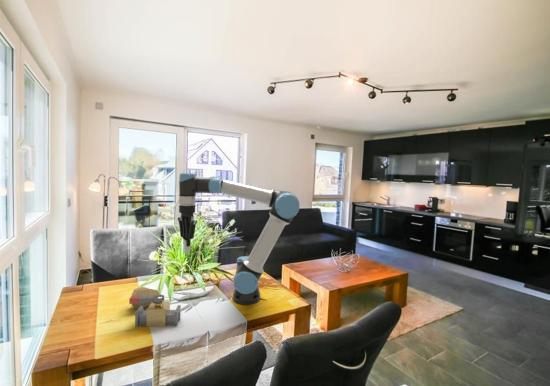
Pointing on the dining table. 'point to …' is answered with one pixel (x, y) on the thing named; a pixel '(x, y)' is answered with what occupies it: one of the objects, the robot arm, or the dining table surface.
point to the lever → (146, 299)
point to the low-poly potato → (143, 292)
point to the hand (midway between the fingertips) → (186, 252)
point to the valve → (157, 315)
